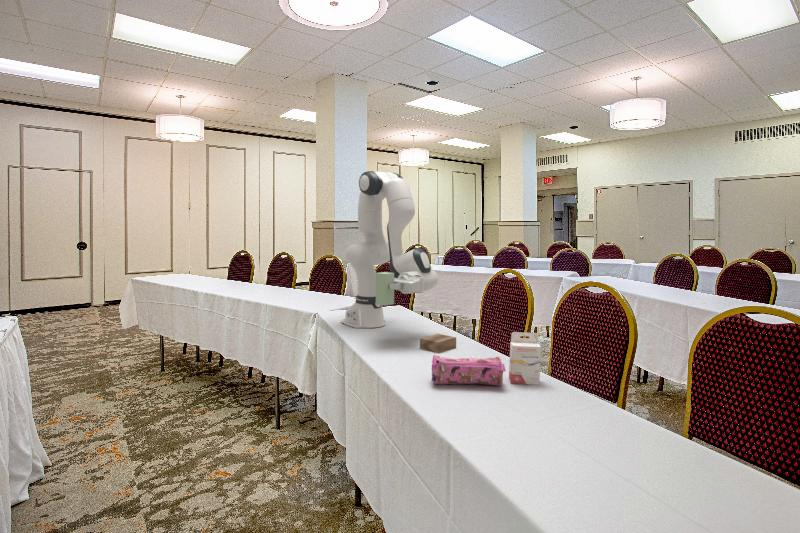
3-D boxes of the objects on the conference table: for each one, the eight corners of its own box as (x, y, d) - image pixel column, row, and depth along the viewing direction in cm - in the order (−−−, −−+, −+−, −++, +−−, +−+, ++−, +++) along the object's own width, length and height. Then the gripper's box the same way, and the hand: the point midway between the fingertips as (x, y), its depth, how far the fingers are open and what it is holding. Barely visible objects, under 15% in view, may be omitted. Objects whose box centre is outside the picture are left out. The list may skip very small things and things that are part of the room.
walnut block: (419, 348, 181) (419, 338, 180) (437, 343, 189) (437, 333, 188) (438, 353, 174) (438, 342, 174) (456, 347, 182) (456, 337, 182)
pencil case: (431, 388, 137) (431, 358, 137) (431, 378, 147) (432, 350, 146) (505, 391, 135) (506, 361, 135) (501, 380, 145) (502, 352, 144)
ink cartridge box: (510, 383, 141) (512, 335, 140) (508, 378, 146) (510, 331, 145) (540, 384, 141) (541, 336, 139) (537, 379, 146) (538, 332, 144)
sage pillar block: (375, 304, 181) (375, 273, 180) (384, 302, 185) (384, 272, 184) (384, 305, 178) (384, 274, 177) (394, 304, 182) (394, 273, 181)
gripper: (389, 273, 197) (364, 275, 187) (426, 277, 183) (402, 280, 173) (389, 288, 198) (364, 291, 188) (426, 293, 184) (402, 297, 174)
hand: (383, 286), depth 180 cm, fingers closed on sage pillar block, 5 cm apart
